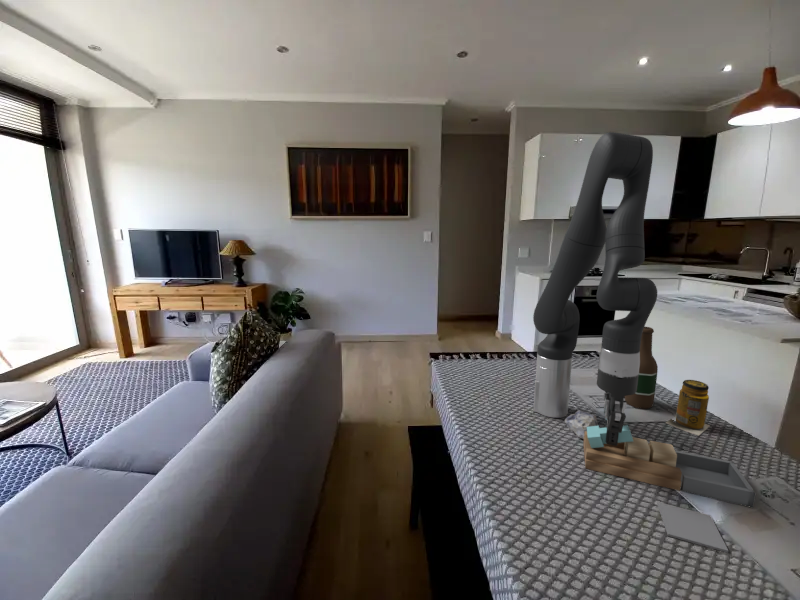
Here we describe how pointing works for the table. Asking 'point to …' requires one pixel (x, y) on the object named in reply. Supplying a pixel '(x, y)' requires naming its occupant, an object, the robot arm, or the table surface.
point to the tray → (714, 479)
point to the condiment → (692, 407)
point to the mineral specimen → (581, 422)
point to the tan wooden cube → (637, 449)
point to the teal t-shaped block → (599, 436)
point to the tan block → (662, 453)
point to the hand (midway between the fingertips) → (610, 440)
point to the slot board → (629, 465)
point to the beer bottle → (645, 374)
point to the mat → (691, 526)
